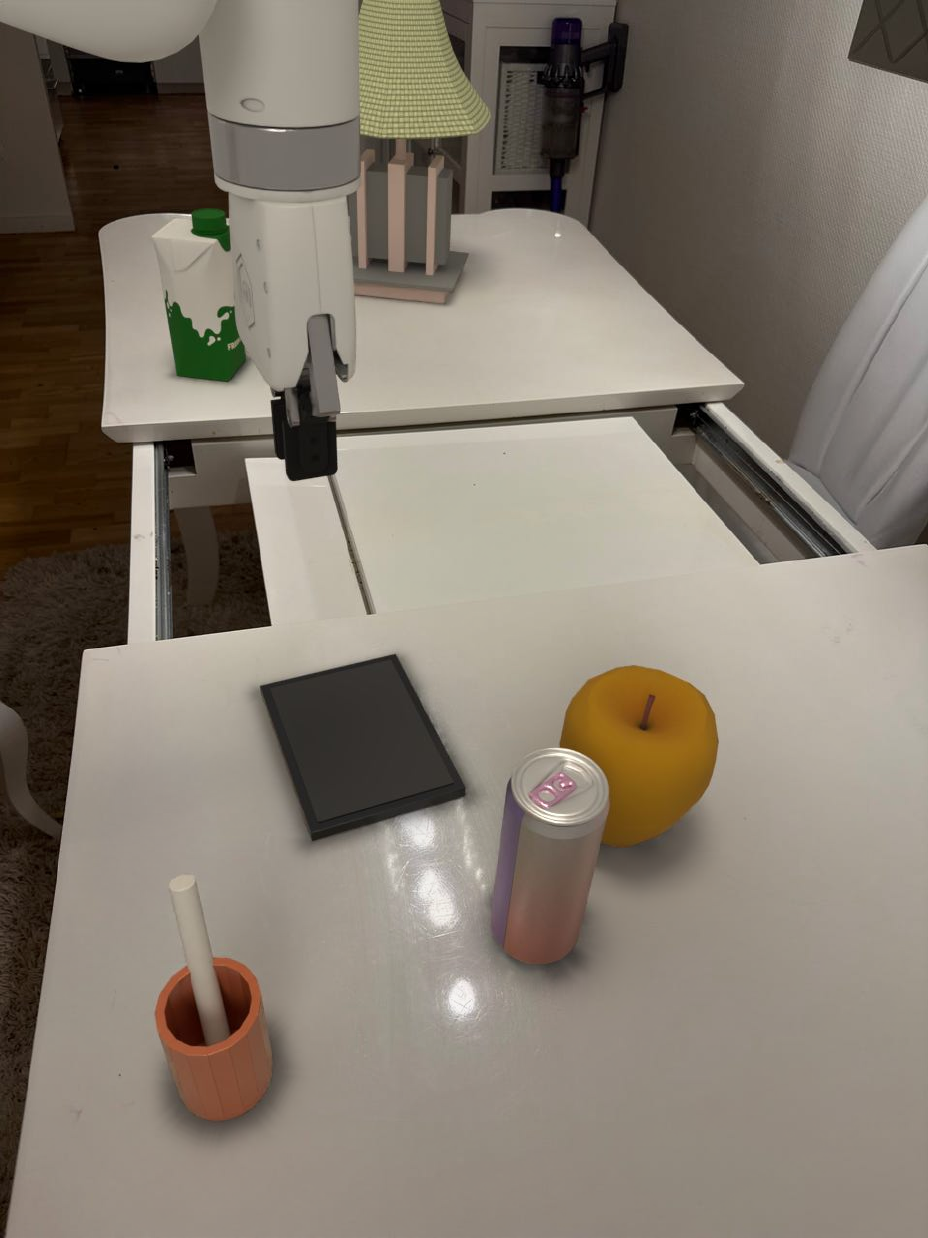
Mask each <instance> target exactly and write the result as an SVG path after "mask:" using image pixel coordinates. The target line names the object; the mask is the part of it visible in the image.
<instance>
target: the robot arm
mask: <svg viewBox="0 0 928 1238" xmlns="http://www.w3.org/2000/svg"><path fill="white" fill-rule="evenodd" d="M0 23H2V24H5V25H8V26H10V27H14V28H16V29H18V30H21V31H25V32H27V33H30V34H33V35H36V36H39V37H41V38H43V39H47V40H49V41H52V42H55V43H58V44H60V45H63V46H66V47H69V48H72V49H75V50H78V51H80V52H84V53H86V54H90V55H93V56H96V57H100V58H103V59H106V60H110V61H117V62H123V63H146V62H153V61H159V60H162V59H166V58H167V57H169V56H172V55H174V54H177V53H178V52H180V51H181V50H183V49H184V48H186V46H188V45H190V44H191V43H193V42H194V40H195V39H196V38H197V37H198V41H199V49H200V50H199V51H200V59H201V67H202V76H203V85H204V86H203V87H204V94H205V95H204V96H205V103H206V110H207V111H206V112H207V121H208V122H207V123H208V131H209V139H210V149H211V157H212V167H213V175H214V184H215V185H216V187H218V188H219V189H220V190H221V191H224V192H225V193H228V220H229V221H228V223H229V225H230V244H231V259H232V275H233V290H234V306H235V319H236V326H237V330H238V333H239V336H240V338H241V340H242V342H243V344H244V346H245V350H246V352H247V353H248V355H249V357H250V359H251V361H252V362H253V364H254V366H255V367H256V369H257V370H258V372H259V374H260V376H261V377H262V379H263V380H264V382H265V383H266V384H267V385H268V386H269V390H270V394H271V396H272V398H274V399H270V400H269V401H270V413H271V425H272V435H273V447H274V454H275V456H276V458H277V459H279V460H281V461H284V465H285V466H284V467H285V468H284V469H285V474H286V477H287V478H288V480H289V481H290V482H298V481H299V482H300V481H304V480H312V479H318V478H323V477H328V476H334V475H335V474H336V473H337V472H338V471H339V470H338V469H339V465H338V437H337V415H341V411H342V410H341V409H342V408H341V401H340V392H339V386H338V380H337V379H338V378H339V380H340V381H341V382H342V383H348V382H349V381H350V380H351V379H352V378H353V377H354V375H355V373H356V364H357V318H356V317H357V316H356V315H357V314H356V294H355V292H354V276H353V262H352V249H351V235H350V219H349V205H348V200H347V199H348V197H347V196H349V194H351V193H353V192H355V191H357V190H358V189H359V188H360V186H361V155H362V151H361V149H362V148H361V135H360V114H359V113H360V88H359V0H0ZM337 377H338V378H337Z"/></svg>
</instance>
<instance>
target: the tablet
mask: <svg viewBox="0 0 928 1238" xmlns="http://www.w3.org/2000/svg"><path fill="white" fill-rule="evenodd" d="M259 691H260V696H261V699H262V703H263V705H264V708H265V710H266V713H267V716H268V719H269V723H270V725H271V727H272V731H273V734H274V736H275V739H276V743H277V745H278V748H279V751H280V753H281V757H282V760H283V763H284V766H285V768H286V771H287V774H288V776H289V780H290V783H291V785H292V789H293V791H294V794H295V797H296V800H297V803H298V805H299V809H300V811H301V814H302V817H303V820H304V823H305V826H306V829H307V832H308V834H309V837H310V840H311V842H315V841H318V840H321V839H325V838H328V837H332V836H335V835H338V834H341V833H345V832H348V831H352V830H355V829H358V828H362V827H365V826H368V825H372V824H376V823H379V822H382V821H385V820H389V819H393V818H396V817H399V816H403V815H406V814H410V813H412V812H416V811H420V810H423V809H426V808H429V807H430V808H431V807H433V806H436V805H440V804H442V803H447V802H449V801H450V802H451V801H453V800H457V799H461V798H463V797H465V796H466V791H467V790H466V789H467V788H466V785H465V784H464V782H463V779H462V777H461V776H460V774H459V772H458V770H457V768H456V766H455V764H454V762H453V760H452V759H451V757H450V754H449V752H448V751H447V749H446V747H445V744H444V743H443V741H442V740H441V738H440V735H439V733H438V732H437V730H436V728H435V726H434V724H433V722H432V720H431V718H430V717H429V714H428V713H427V711H426V709H425V707H424V705H423V703H422V702H421V700H420V697H419V695H418V694H417V692H416V690H415V688H414V686H413V684H412V682H411V679H410V678H409V676H408V674H407V672H406V671H405V668H404V667H403V665H402V663H401V661H400V659H399V657H398V655H397V654H396V653H393V654H388V655H384V656H380V657H376V658H371V659H366V660H363V661H362V660H361V661H359V662H354V663H349V664H346V665H341V666H337V667H333V668H329V669H325V670H321V671H317V672H316V671H315V672H312V673H308V674H304V675H299V676H295V677H291V678H287V679H282V680H278V681H274V682H270V683H266V684H261V685H259Z"/></svg>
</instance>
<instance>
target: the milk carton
mask: <svg viewBox="0 0 928 1238" xmlns="http://www.w3.org/2000/svg"><path fill="white" fill-rule="evenodd" d="M190 216H191V219H190V218H189V219H188V218H180V217H175V218H173V219H172V220H170V222H168V223H167V224H166V225H164V226H163V227H161V228H160V229H159V230H158V231H156V232H155V233H154V234H153V235H151V236H150V237H151V241H152V244H153V249H154V252H155V255H156V260H157V263H158V264H157V265H158V268H159V274H160V281H161V282H160V283H161V287H162V288H161V289H162V294H163V299H164V306H165V312H166V319H167V325H168V332H169V339H170V343H171V349H172V355H173V361H174V367H175V372H176V376H178V377H187V378H196V379H202V380H203V379H204V380H210V381H212V380H213V381H219V382H230V381H231V379H232V378H233V377H234V375H236V373H237V372H238V370H240V368H241V367H242V365H243V364H244V363H245V361H246V360H247V355H246V348H245V346H244V344H243V342H242V340H241V338H240V336H239V333H238V330H237V326H236V319H235V306H234V290H233V275H232V259H231V244H230V225H229V222H227V217H226V212H225V211H224V210H222V209H219V208H213V207H212V208H209V207H205V208H199V209H196V210H193V211H192V212H191V213H190Z"/></svg>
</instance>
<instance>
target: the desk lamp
mask: <svg viewBox="0 0 928 1238" xmlns="http://www.w3.org/2000/svg"><path fill="white" fill-rule="evenodd" d="M358 17H359V88H360V113H359V114H360V136H363V137H368V138H376V139H381V140H382V139H383V140H395V154H394V155H393V157H392V158H391V159H390V161H389V162H388V163H387V162H376V150H375V149H374V148H366V149H365V150H364V152H363V153H361V186H360V188H359V189H358V190H357V191H355V192H353V193H351V194H349V195H348V216H349V227H350V235H351V249H352V262H353V276H354V292H355V295H358V296H368V297H376V298H377V297H379V298H387V299H397V300H405V301H406V300H407V301H414V302H415V301H417V302H425V303H427V302H428V303H435V304H445V302H446V300H447V297H448V295H449V293H454V291H455V288H456V287H457V285H458V282H459V280H460V277H461V275H462V272H463V270H464V267H465V265H466V263H467V261H468V258H469V254H470V253H469V252H465V251H464V252H463V251H454V250H451V231H452V207H453V204H452V203H453V180H454V179H453V178H454V177H453V176H454V168H453V169H452V168H445V167H444V165H445V156H444V155H439V154H436V155H435V157H434V158H433V160H432V161H431V163H430V164H429V165H428V166H420V165H414V159H415V157H414V156H415V155H414V152H407V140H422V139H425V140H426V139H444V138H445V139H447V138H455V137H456V138H457V137H466V136H467V137H468V136H475V135H477V134H479V133H481V131H482V130H483V129H485V127H486V126H487V125H488V123H489V121H490V119H491V117H492V116H491V110H490V109H489V107H488V106H487V104H486V103H485V102H484V101H483V99H482V98H481V97H480V95H479V94H478V92H477V91H476V89H475V88H474V87H473V84H471V82H470V80H469V78H468V77H467V76H466V74H465V72H464V71H463V69H462V67H461V65H460V63H459V60H458V58H457V56H456V54H455V51H454V49H453V46H452V42H451V39H450V36H449V33H448V30H447V25H446V22H445V18H444V14H443V10H442V6H441V3H440V0H362V2H361V6H360V10H359V12H358Z"/></svg>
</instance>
